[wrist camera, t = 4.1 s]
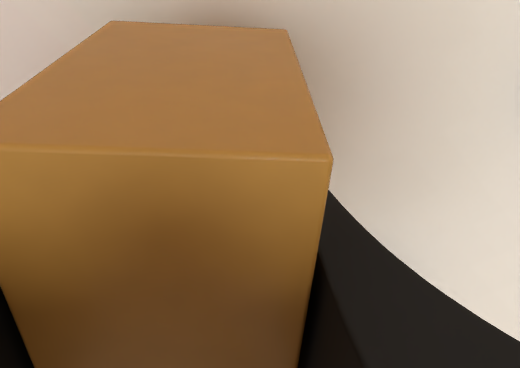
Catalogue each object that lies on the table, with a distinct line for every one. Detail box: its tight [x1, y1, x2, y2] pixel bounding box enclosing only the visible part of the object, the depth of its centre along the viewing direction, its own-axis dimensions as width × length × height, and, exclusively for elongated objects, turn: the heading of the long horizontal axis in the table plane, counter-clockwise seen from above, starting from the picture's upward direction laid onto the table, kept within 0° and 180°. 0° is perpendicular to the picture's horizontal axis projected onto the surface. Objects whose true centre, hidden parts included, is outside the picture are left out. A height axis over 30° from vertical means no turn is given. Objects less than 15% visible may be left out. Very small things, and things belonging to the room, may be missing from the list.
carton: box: [0, 21, 333, 368], centre depth 9 cm, size 4×7×6 cm, turn 177°
